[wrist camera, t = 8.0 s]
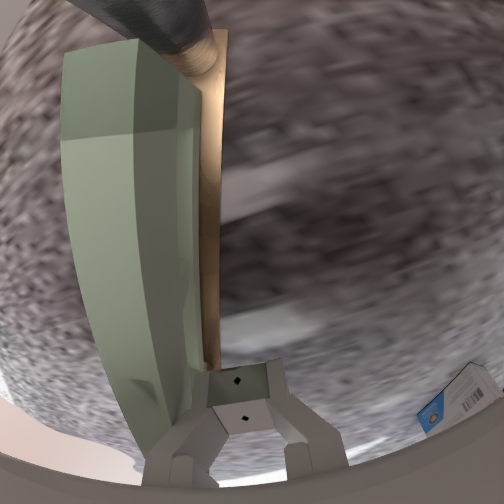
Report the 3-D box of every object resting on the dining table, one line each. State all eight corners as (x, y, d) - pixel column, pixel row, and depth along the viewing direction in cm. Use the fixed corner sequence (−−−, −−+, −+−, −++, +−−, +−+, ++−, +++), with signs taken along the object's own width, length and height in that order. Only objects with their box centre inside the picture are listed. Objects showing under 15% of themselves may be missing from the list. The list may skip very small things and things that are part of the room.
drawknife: (162, 36, 11) (38, -79, 1) (228, 34, 11) (212, -126, 1) (176, 373, 20) (154, 515, 10) (220, 376, 20) (217, 522, 10)
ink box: (436, 417, 26) (480, 510, 13) (415, 415, 25) (460, 521, 11) (486, 367, 23) (546, 459, 10) (470, 360, 22) (538, 467, 8)
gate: (169, 92, 11) (64, 52, 3) (201, 91, 11) (138, 38, 3) (181, 363, 17) (161, 487, 9) (203, 364, 17) (192, 490, 10)
